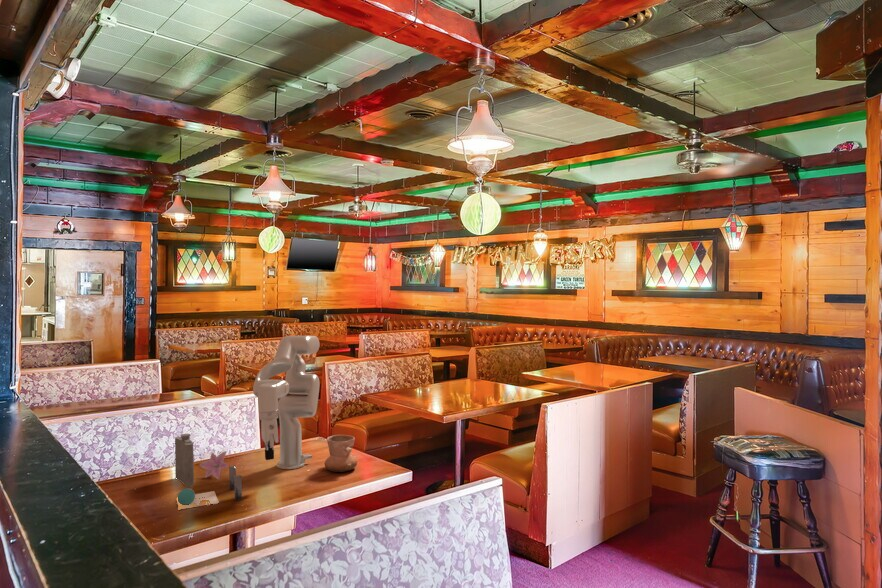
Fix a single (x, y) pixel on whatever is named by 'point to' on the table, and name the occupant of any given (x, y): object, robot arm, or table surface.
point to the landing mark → (206, 498)
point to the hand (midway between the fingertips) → (269, 458)
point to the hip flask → (184, 460)
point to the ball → (186, 496)
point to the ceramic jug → (340, 453)
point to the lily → (214, 465)
